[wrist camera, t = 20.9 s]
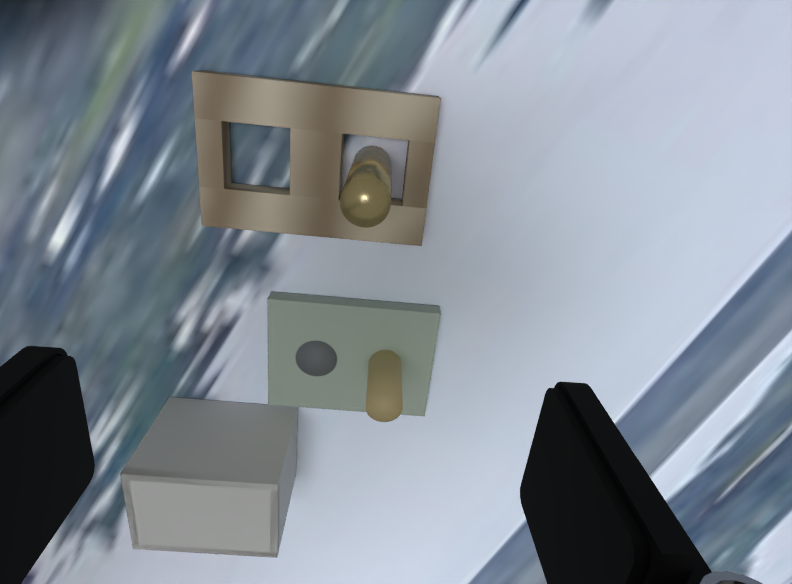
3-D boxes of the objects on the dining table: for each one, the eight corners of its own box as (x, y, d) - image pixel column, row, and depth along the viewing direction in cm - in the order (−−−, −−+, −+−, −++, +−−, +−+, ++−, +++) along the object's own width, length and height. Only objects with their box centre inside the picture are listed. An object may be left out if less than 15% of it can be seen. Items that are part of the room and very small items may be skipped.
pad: (271, 394, 40) (252, 451, 34) (271, 291, 36) (249, 335, 30) (423, 406, 40) (429, 463, 35) (439, 306, 36) (448, 352, 31)
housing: (176, 464, 43) (133, 548, 35) (169, 397, 40) (120, 474, 32) (296, 472, 43) (277, 557, 36) (297, 406, 40) (277, 484, 33)
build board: (209, 218, 33) (201, 225, 32) (201, 70, 30) (191, 71, 28) (420, 237, 34) (421, 246, 33) (438, 96, 30) (440, 98, 29)
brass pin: (352, 182, 33) (338, 225, 24) (354, 143, 32) (341, 175, 23) (389, 185, 33) (388, 229, 25) (392, 147, 32) (392, 180, 24)
